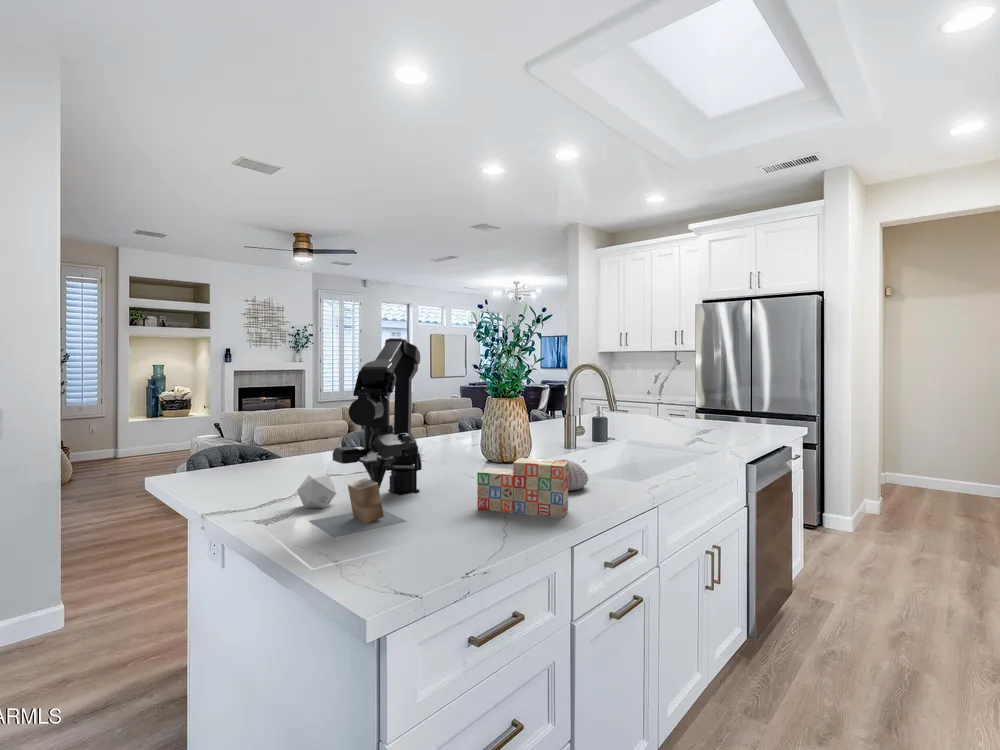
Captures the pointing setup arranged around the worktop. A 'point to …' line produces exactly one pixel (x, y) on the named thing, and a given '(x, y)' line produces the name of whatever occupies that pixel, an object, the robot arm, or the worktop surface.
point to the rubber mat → (353, 523)
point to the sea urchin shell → (576, 476)
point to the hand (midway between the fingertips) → (377, 489)
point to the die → (317, 491)
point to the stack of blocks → (525, 488)
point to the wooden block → (365, 500)
